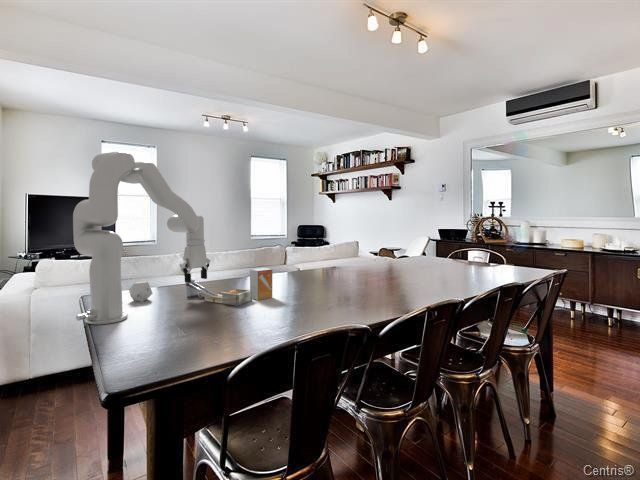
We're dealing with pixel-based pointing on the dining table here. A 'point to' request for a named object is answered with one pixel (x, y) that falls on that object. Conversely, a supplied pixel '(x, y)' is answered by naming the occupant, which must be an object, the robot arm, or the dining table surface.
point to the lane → (231, 297)
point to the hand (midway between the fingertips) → (196, 280)
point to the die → (140, 291)
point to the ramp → (193, 290)
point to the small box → (261, 283)
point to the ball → (233, 292)
